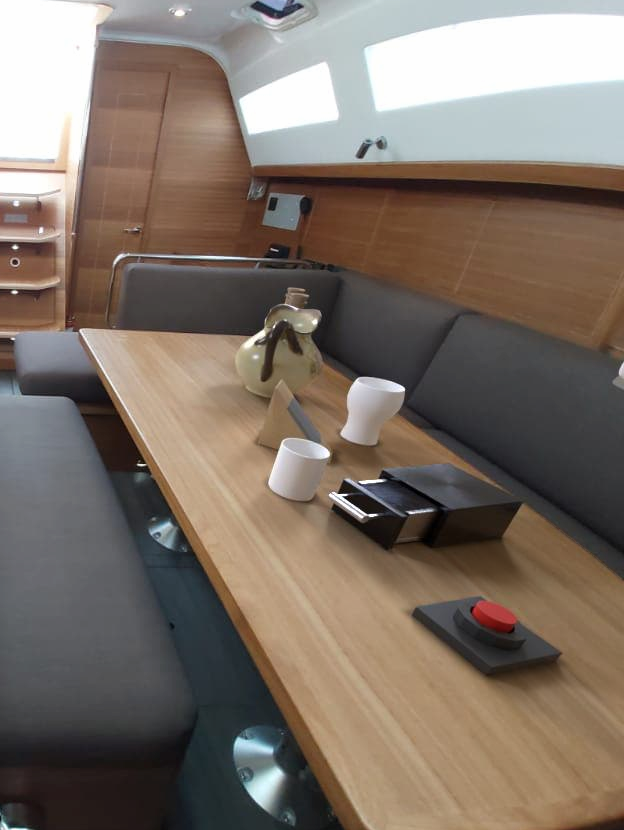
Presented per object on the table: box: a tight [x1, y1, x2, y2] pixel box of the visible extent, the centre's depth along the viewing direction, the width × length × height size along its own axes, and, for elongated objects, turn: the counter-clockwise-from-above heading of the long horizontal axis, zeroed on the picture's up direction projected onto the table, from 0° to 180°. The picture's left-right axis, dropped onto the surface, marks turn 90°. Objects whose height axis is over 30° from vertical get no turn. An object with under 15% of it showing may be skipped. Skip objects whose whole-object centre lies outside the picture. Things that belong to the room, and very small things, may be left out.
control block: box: [411, 595, 563, 677], centre depth 69 cm, size 12×10×4 cm
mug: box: [268, 438, 330, 502], centre depth 101 cm, size 12×8×10 cm
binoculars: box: [284, 287, 310, 309], centre depth 172 cm, size 21×10×25 cm, turn 155°
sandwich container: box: [257, 379, 333, 465], centre depth 115 cm, size 9×15×15 cm, turn 52°
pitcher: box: [234, 303, 323, 399], centre depth 145 cm, size 22×24×25 cm
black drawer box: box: [377, 462, 525, 549], centre depth 92 cm, size 16×13×9 cm
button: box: [472, 600, 518, 633], centre depth 67 cm, size 4×4×2 cm
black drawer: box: [327, 478, 444, 551], centre depth 89 cm, size 20×12×7 cm, turn 102°
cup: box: [339, 376, 406, 446], centre depth 121 cm, size 11×11×15 cm
